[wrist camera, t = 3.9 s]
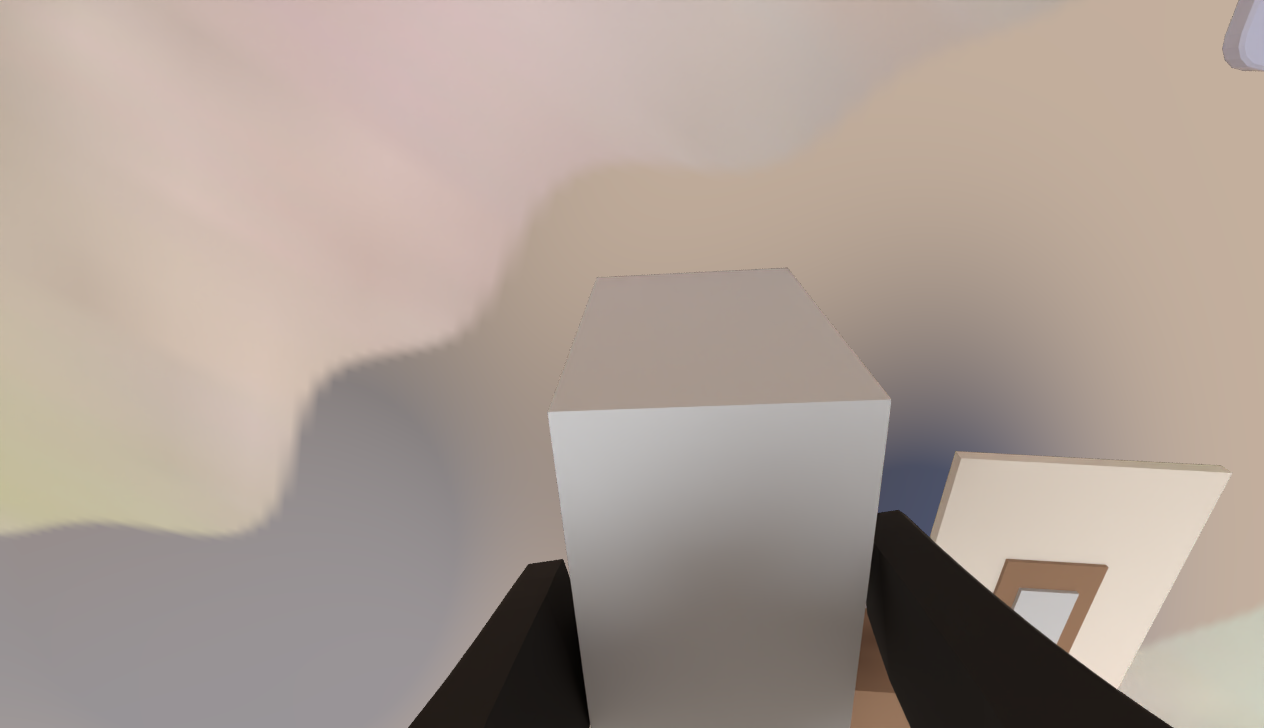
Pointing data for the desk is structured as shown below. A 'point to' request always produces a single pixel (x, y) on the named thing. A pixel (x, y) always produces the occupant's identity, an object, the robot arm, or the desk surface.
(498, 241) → the desk surface
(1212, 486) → the cream rectangular panel
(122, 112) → the desk surface
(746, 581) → the brick
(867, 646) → the base slab
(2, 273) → the desk surface
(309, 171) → the desk surface
